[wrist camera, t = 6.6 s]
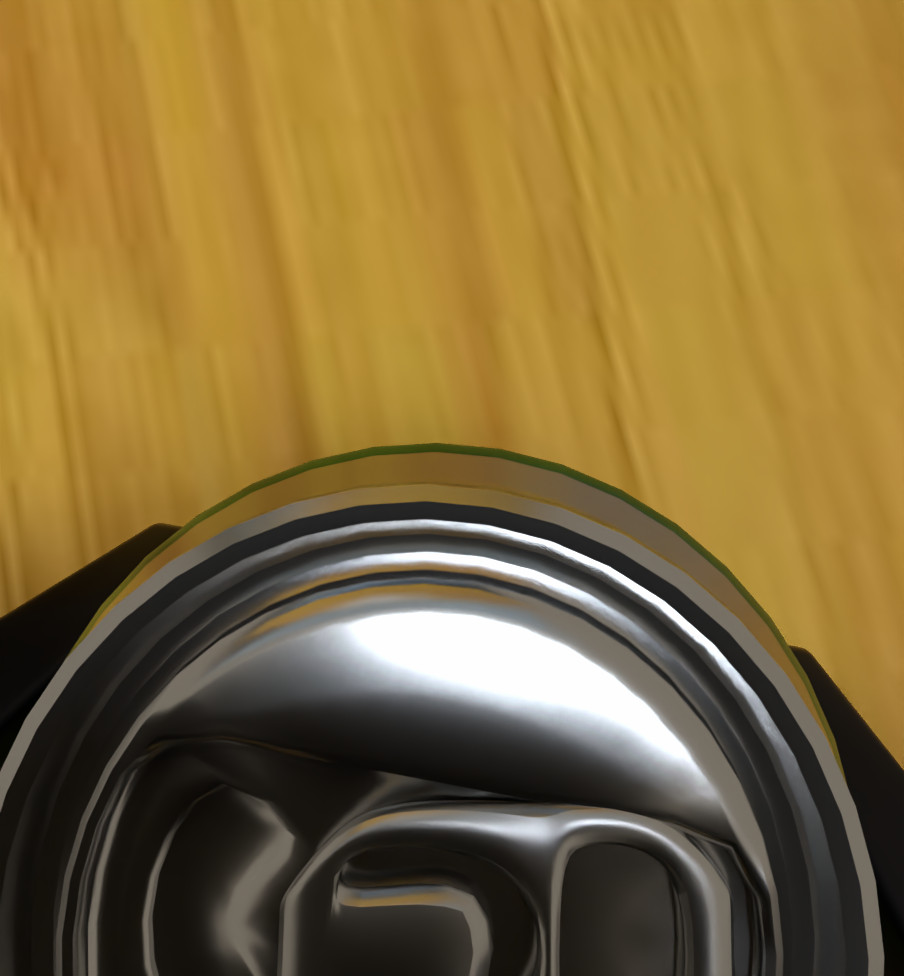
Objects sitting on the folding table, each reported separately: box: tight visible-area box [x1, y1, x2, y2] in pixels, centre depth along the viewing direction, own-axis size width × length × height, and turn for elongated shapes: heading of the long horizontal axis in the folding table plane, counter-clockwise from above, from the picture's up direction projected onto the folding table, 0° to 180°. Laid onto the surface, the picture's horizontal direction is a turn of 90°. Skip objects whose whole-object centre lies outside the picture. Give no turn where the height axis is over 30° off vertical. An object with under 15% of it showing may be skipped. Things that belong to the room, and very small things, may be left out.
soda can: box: [0, 443, 884, 976], centre depth 10 cm, size 5×5×12 cm
